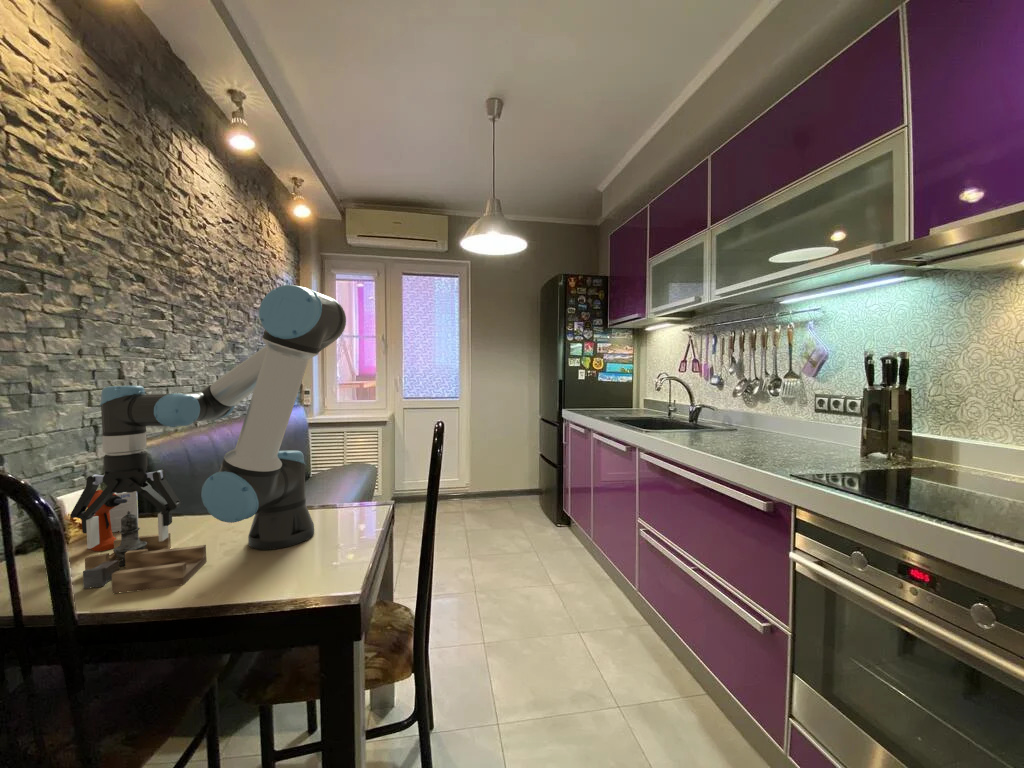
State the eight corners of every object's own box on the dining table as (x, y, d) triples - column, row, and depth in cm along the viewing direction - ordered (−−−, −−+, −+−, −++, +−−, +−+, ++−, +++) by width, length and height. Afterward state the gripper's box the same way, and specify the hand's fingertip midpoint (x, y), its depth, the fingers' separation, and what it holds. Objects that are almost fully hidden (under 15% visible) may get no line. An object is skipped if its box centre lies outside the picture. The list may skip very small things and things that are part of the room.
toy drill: (117, 555, 99) (110, 491, 99) (86, 551, 108) (79, 492, 108) (143, 547, 103) (136, 486, 104) (111, 544, 112) (104, 487, 112)
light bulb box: (107, 524, 125) (106, 488, 125) (138, 518, 129) (136, 483, 129) (106, 534, 117) (104, 495, 117) (139, 527, 122) (137, 490, 121)
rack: (206, 561, 98) (205, 544, 97) (183, 584, 87) (182, 565, 87) (144, 569, 94) (143, 551, 94) (112, 594, 84) (111, 574, 84)
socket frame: (170, 549, 106) (170, 533, 105) (145, 568, 95) (144, 550, 95) (117, 555, 103) (116, 538, 102) (85, 575, 92) (84, 557, 92)
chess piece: (109, 569, 95) (106, 516, 94) (119, 559, 100) (116, 509, 100) (143, 563, 98) (140, 512, 97) (151, 554, 103) (148, 505, 102)
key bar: (121, 573, 93) (120, 557, 93) (102, 586, 87) (102, 569, 87) (103, 575, 92) (102, 559, 92) (83, 588, 86) (82, 571, 86)
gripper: (195, 446, 105) (198, 530, 106) (70, 452, 98) (74, 542, 99) (180, 451, 98) (183, 542, 98) (45, 458, 91) (49, 556, 92)
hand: (129, 542), depth 99 cm, fingers open, 13 cm apart
